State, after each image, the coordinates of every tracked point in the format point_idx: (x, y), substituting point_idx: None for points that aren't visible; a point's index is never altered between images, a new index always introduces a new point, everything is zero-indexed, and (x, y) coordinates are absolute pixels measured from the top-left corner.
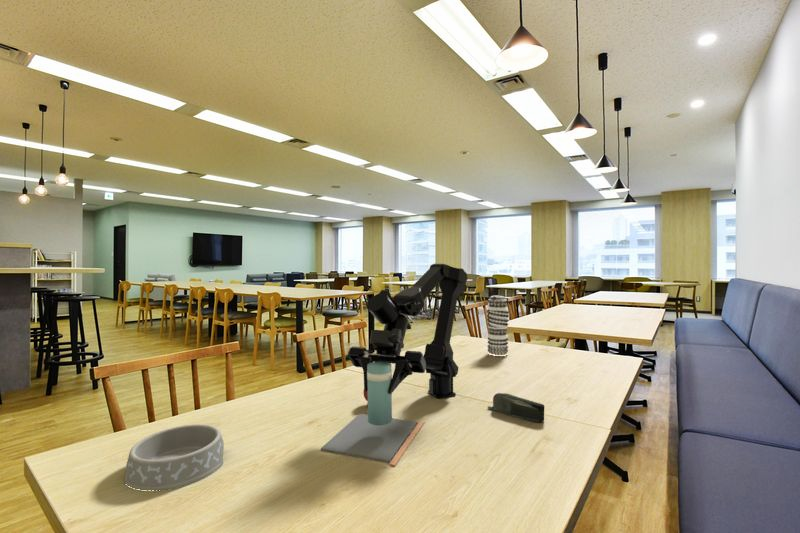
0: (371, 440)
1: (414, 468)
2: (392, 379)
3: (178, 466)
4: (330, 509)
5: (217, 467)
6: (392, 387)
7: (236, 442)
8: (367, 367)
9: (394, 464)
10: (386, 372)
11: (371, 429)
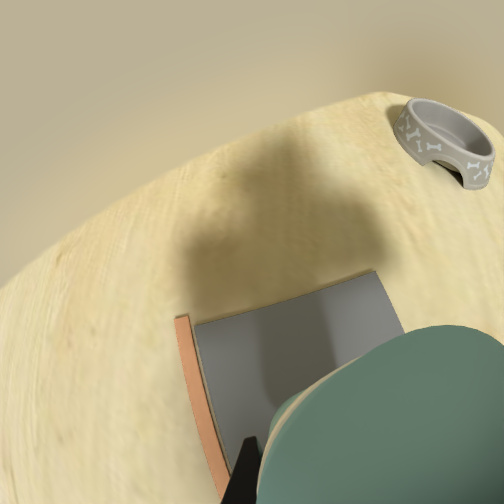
0: (306, 384)
1: (135, 335)
2: (248, 500)
3: (403, 111)
4: (206, 176)
5: (413, 155)
6: (236, 465)
7: (476, 207)
8: (488, 345)
9: (176, 319)
10: (264, 458)
11: None
